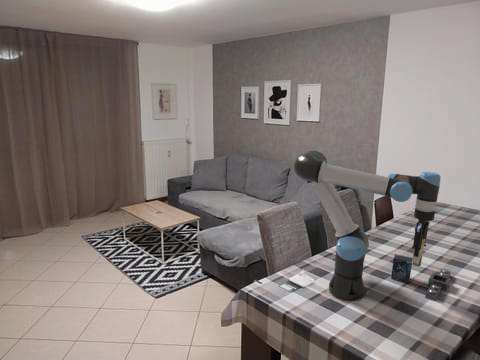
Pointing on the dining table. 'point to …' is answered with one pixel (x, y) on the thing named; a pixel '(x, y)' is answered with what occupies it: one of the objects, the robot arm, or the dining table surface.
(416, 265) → the pin
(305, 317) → the dining table surface
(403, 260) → the box
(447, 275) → the studded dark bracket
